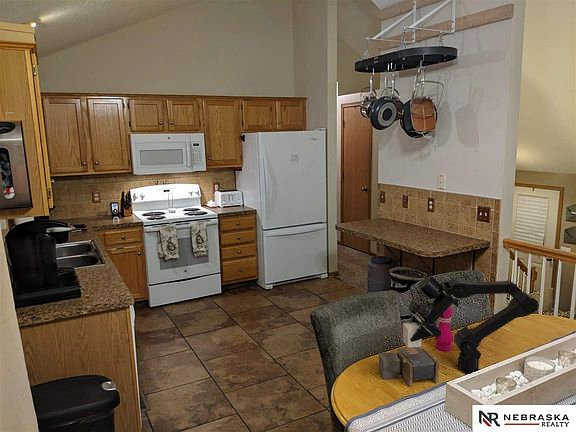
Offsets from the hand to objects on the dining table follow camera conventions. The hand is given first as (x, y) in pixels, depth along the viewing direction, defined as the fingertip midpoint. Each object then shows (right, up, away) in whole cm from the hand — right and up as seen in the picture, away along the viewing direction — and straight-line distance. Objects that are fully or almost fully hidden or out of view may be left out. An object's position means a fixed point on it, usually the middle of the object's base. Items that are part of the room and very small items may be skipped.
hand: (408, 337), depth 164 cm
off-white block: (+1, -2, 0) cm, 3 cm away
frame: (+2, -14, -2) cm, 14 cm away
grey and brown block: (+2, -12, -1) cm, 12 cm away
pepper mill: (+20, -10, +20) cm, 30 cm away
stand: (-7, -14, 0) cm, 15 cm away
